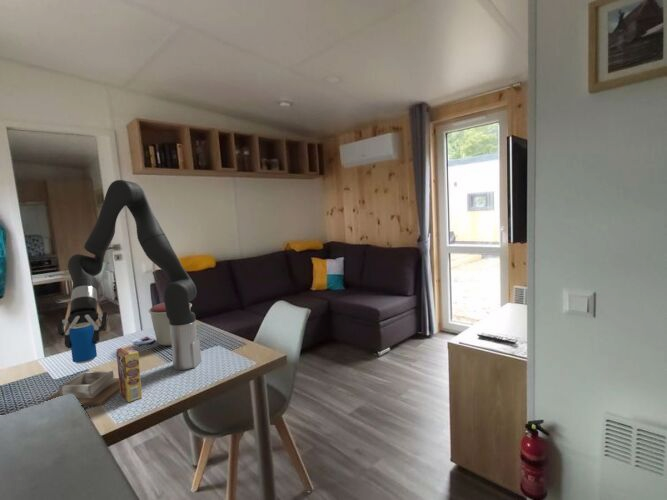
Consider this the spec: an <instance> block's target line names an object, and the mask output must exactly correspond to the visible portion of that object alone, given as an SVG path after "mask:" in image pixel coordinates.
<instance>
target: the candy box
mask: <svg viewBox="0 0 667 500" xmlns="http://www.w3.org/2000/svg"><path fill="white" fill-rule="evenodd" d="M116 360H117V361H116V362H117V370H118V372H117V373H118V378H119V385H120V391H119V393H120V395H121V396H122V397H123V398H124V399H125V400H126V402H128V403H131V402H133V401H136V400H139V399H142V397H143V396H142V395H143V394H142V393H143V392H142V383H141V370H140V369H141V368H140V354H139V351H138V350H136V349H135V348H133V347H132V346H130V345H126V346H122V347H120V348H117V349H116Z"/></svg>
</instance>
